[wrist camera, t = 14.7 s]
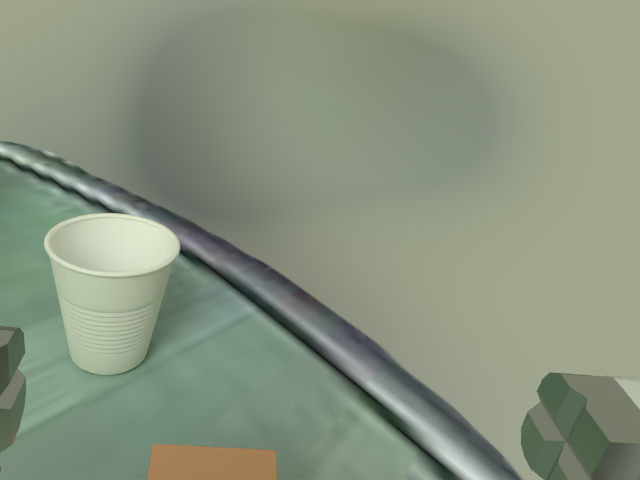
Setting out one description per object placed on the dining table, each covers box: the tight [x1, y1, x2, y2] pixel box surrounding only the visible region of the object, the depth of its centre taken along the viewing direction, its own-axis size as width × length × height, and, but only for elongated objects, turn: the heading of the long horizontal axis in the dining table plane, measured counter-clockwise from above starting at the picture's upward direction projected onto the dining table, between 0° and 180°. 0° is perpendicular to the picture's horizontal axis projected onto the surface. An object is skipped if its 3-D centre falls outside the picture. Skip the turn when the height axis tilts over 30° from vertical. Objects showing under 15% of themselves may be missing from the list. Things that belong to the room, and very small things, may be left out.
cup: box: [44, 213, 180, 375], centre depth 48 cm, size 10×10×11 cm
